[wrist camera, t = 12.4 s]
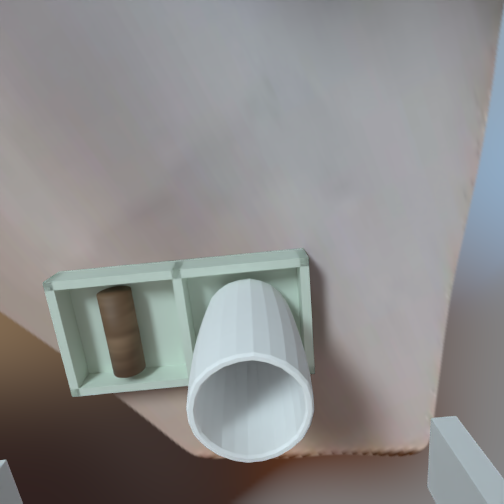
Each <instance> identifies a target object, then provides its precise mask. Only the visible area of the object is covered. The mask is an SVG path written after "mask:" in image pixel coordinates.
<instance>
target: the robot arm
mask: <svg viewBox="0 0 504 504" xmlns="http://www.w3.org/2000/svg"><path fill="white" fill-rule="evenodd" d="M427 487H428V489H429V491H430V493H431V495H432V497H433V499H434V501H435V503H436V504H504V478H503V477H502V476H501V475H500V473H499V472H498V471H497V469H496V468H495V467H494V465H493V464H492V463H491V461H490V460H489V459H488V457H487V456H486V455H485V453H484V452H483V451H482V450H481V448H480V447H479V446H478V445H477V443H476V442H475V440H474V439H473V438H472V436H471V435H470V434H469V432H468V431H467V430H466V429H465V428H464V426H463V425H462V423H461V422H460V421H459V419H458V418H457V417H456V416H450V417H441V418H431V426H430V445H429V466H428V484H427ZM0 504H23V503H22V500H21V498H20V495H19V492H18V490H17V487H16V485H15V482H14V479H13V476H12V474H11V471H10V469H9V466H8V463H7V460H0Z"/></svg>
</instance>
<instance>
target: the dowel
mask: <svg viewBox="0 0 504 504" xmlns="http://www.w3.org/2000/svg"><path fill="white" fill-rule="evenodd" d="M96 296H97V301H98V305H99V310H100V314H101V319H102V323H103V328H104V332H105V337H106V341H107V346H108V350H109V355H110V359H111V364H112V368H113V373H114V375H115V376H116V377H118V378H128V377H132V376H135V375H137V374H139V373H140V372H142V371H143V370H144V369H145V367H146V363H145V358H144V353H143V347H142V342H141V337H140V332H139V327H138V322H137V316H136V311H135V306H134V301H133V296H132V291H131V287H129V286H114V287H110V288H107V289H104V290H102V291H100V292H98V293H97V295H96Z"/></svg>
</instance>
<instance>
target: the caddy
mask: <svg viewBox="0 0 504 504" xmlns="http://www.w3.org/2000/svg"><path fill="white" fill-rule="evenodd" d="M249 278H250V279H255V280H260V281H263V282H265V283H267V284H270V285H271V286H273V287H274V288H275V289H276V290H278V291H279V292H280V293H281V295H282V296H283V297H284V298H285V300H286V302H287V304H288V306H289V308H290V310H291V313H292V315H293V317H294V320H295V323H296V326H297V328H298V331H299V335H300V338H301V341H302V344H303V347H304V351H305V354H306V358H307V362H308V367H309V371H310V374H315V367H314V349H313V331H312V312H311V294H310V275H309V257H308V256H307V254H306V252H305V251H304V249H303V248H301V249H291V250H280V251H270V252H259V253H249V254H239V255H228V256H218V257H207V258H197V259H187V260H176V261H166V262H155V263H145V264H135V265H124V266H114V267H103V268H93V269H83V270H72V271H62V272H58V273H56V274H55V275H53V276H52V277H50V278H49V279H47V280H46V281H44V282H43V287H44V291H45V295H46V298H47V302H48V306H49V310H50V314H51V318H52V321H53V325H54V329H55V333H56V337H57V340H58V344H59V348H60V352H61V356H62V359H63V363H64V367H65V371H66V375H67V379H68V382H69V386H70V389H71V394H72V397H75V396H86V395H97V394H106V393H118V392H128V391H139V390H149V389H160V388H170V387H181V386H188V384H189V377H190V371H191V365H192V359H193V353H194V348H195V344H196V340H197V337H198V333H199V330H200V327H201V324H202V321H203V318H204V315H205V313H206V310H207V308H208V305H209V303H210V301H211V298H212V297H213V296H214V295H215V294H216V292H217V291H218V290H219V289H221V288H222V287H224V286H225V285H227V284H228V283H231V282H234V281H237V280H242V279H249ZM114 286H129V287H131V291H132V296H133V301H134V306H135V311H136V316H137V322H138V327H139V332H140V337H141V342H142V347H143V353H144V358H145V363H146V367H145V369H144V370H143V371H142V372H140V373H139V374H137V375H135V376H132V377H128V378H118V377H116V376H115V375H114V373H113V368H112V364H111V359H110V355H109V350H108V346H107V341H106V337H105V332H104V328H103V323H102V319H101V314H100V310H99V305H98V301H97V296H96V295H97V293H98V292H100V291H102V290H104V289H107V288H110V287H114Z"/></svg>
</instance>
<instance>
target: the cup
mask: <svg viewBox="0 0 504 504" xmlns="http://www.w3.org/2000/svg"><path fill="white" fill-rule="evenodd" d="M186 409H187V415H188V421H189V424H190V427H191V429H192V431H193V434H194V436H195V437H196V438H197V439H198V440H199V441H200V442H201V443H202V444H203V445H204V446H205V447H207V448H208V449H210V450H211V451H213V452H214V453H216V454H217V455H220V456H223V457H225V458H228V459H231V460H235V461H241V462H257V461H264V460H267V459H271V458H274V457H277V456H279V455H281V454H283V453H284V452H286V451H288V450H289V449H291V448H293V447H294V446H295V445H296V444H297V443H298V442H299V441H300V440H302V439H303V438H304V436H305V434H306V432H307V431H308V429H309V427H310V425H311V421H312V418H313V414H314V398H313V390H312V384H311V377H310V371H309V367H308V362H307V358H306V354H305V351H304V347H303V344H302V341H301V338H300V335H299V331H298V328H297V326H296V323H295V320H294V317H293V315H292V313H291V310H290V308H289V306H288V304H287V302H286V300H285V298H284V297H283V296H282V295H281V293H280V292H279V291H278V290H276V289H275V288H274V287H273V286H271V285H270V284H267V283H265V282H263V281H260V280H255V279H250V278H249V279H242V280H237V281H234V282H231V283H228V284H227V285H225V286H224V287H222V288H221V289H219V290H218V291H217V292H216V294H215V295H214V296H213V297H212V298H211V301H210V303H209V305H208V308H207V310H206V313H205V315H204V318H203V321H202V324H201V327H200V330H199V333H198V337H197V340H196V344H195V348H194V353H193V359H192V365H191V371H190V377H189V384H188V395H187V407H186Z"/></svg>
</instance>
